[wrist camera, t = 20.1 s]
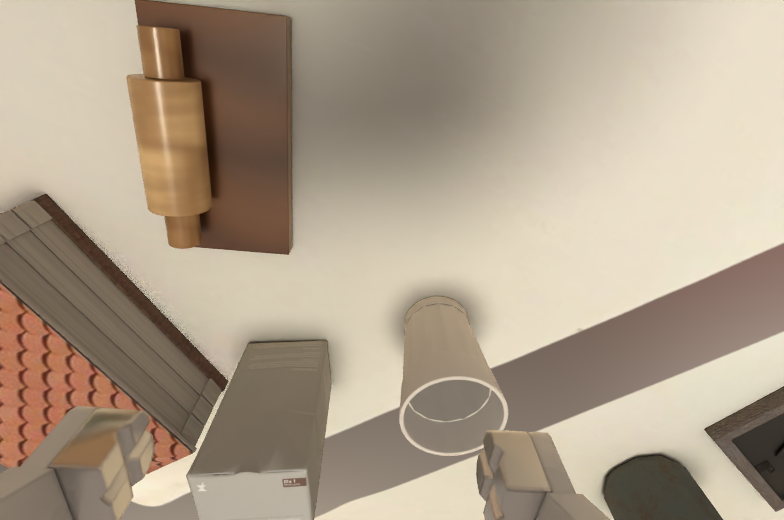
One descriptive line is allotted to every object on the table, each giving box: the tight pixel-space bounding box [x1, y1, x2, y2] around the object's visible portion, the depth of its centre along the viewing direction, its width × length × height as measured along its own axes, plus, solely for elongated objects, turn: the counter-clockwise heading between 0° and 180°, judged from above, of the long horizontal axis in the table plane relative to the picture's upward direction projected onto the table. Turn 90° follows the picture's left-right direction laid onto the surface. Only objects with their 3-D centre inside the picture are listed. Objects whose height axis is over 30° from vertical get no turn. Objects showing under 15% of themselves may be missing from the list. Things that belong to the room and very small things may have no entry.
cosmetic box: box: [186, 340, 331, 520], centre depth 36 cm, size 8×7×16 cm
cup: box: [399, 296, 508, 456], centre depth 36 cm, size 8×8×12 cm
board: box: [135, 0, 292, 255], centre depth 33 cm, size 18×10×2 cm, turn 174°
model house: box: [0, 194, 228, 475], centre depth 35 cm, size 24×16×15 cm, turn 29°
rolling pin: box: [126, 25, 212, 249], centre depth 30 cm, size 15×4×4 cm
